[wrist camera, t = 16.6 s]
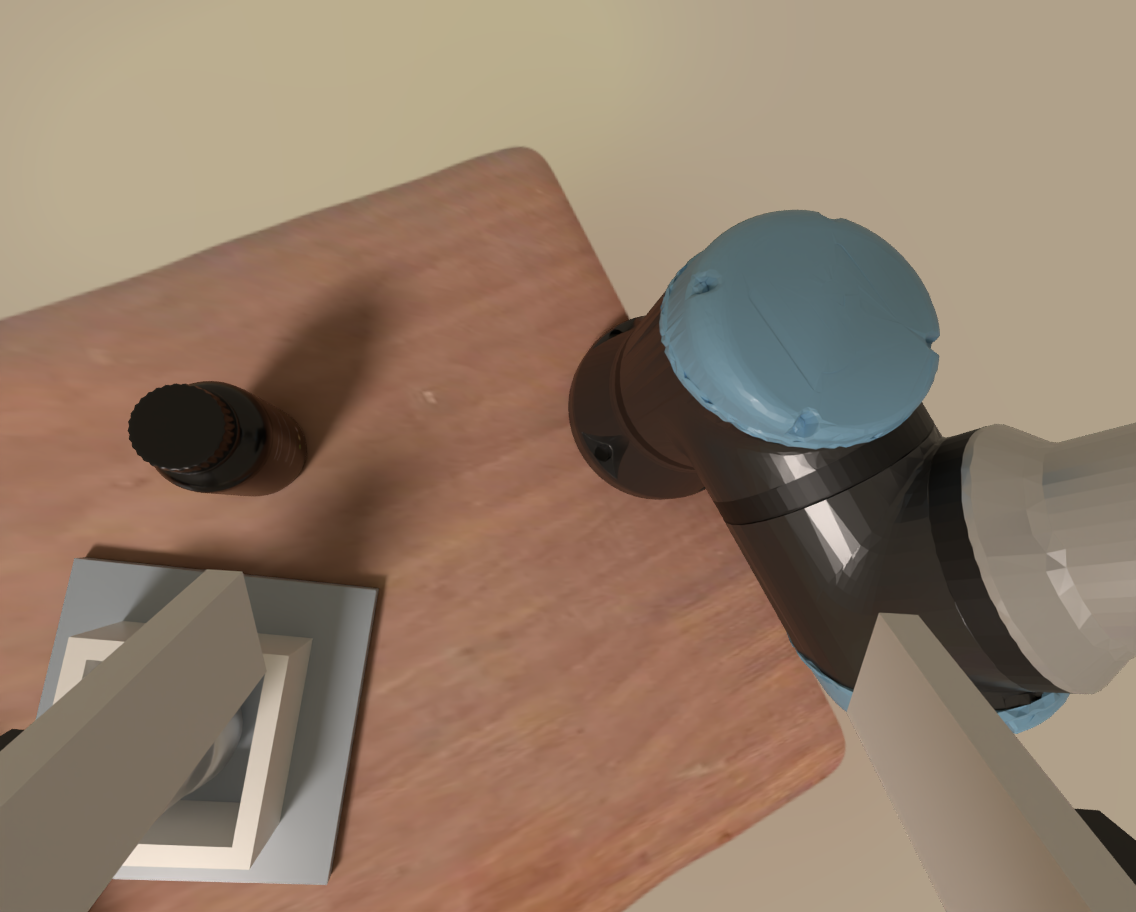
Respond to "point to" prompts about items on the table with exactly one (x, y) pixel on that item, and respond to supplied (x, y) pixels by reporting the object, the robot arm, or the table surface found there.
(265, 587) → the bottle holder
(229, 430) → the supplement bottle
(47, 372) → the table surface
